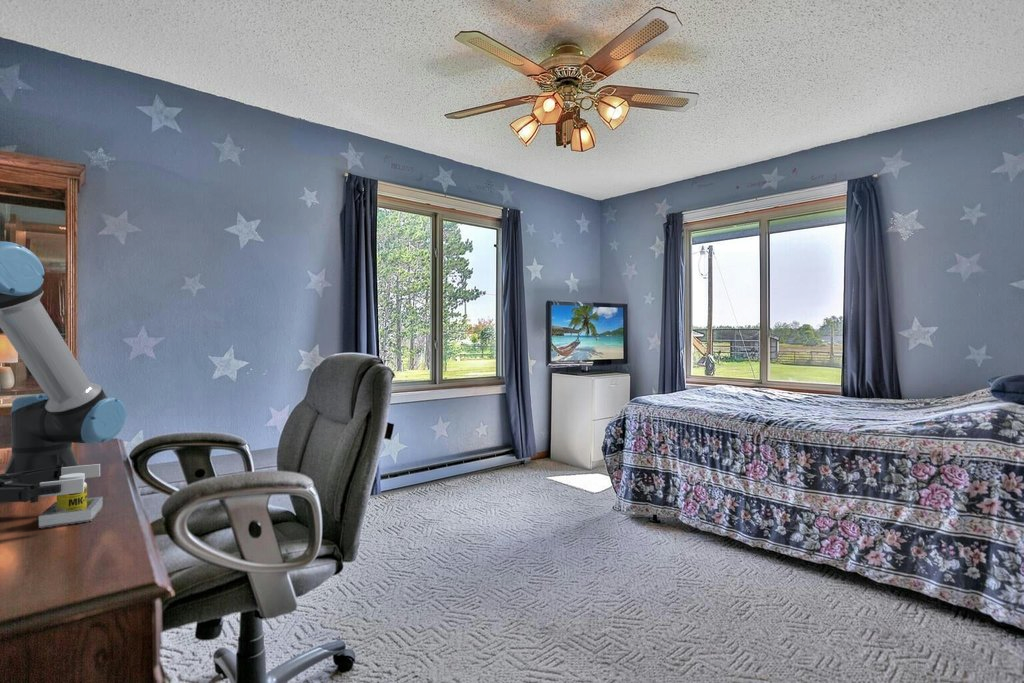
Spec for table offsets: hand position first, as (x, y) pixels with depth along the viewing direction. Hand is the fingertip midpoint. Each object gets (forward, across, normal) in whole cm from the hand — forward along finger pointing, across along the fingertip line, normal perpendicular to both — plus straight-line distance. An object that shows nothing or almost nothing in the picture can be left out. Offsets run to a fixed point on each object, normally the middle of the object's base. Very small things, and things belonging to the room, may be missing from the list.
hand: (92, 477), depth 106 cm
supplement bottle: (-3, 0, -8) cm, 8 cm away
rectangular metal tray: (-3, 0, -8) cm, 9 cm away
